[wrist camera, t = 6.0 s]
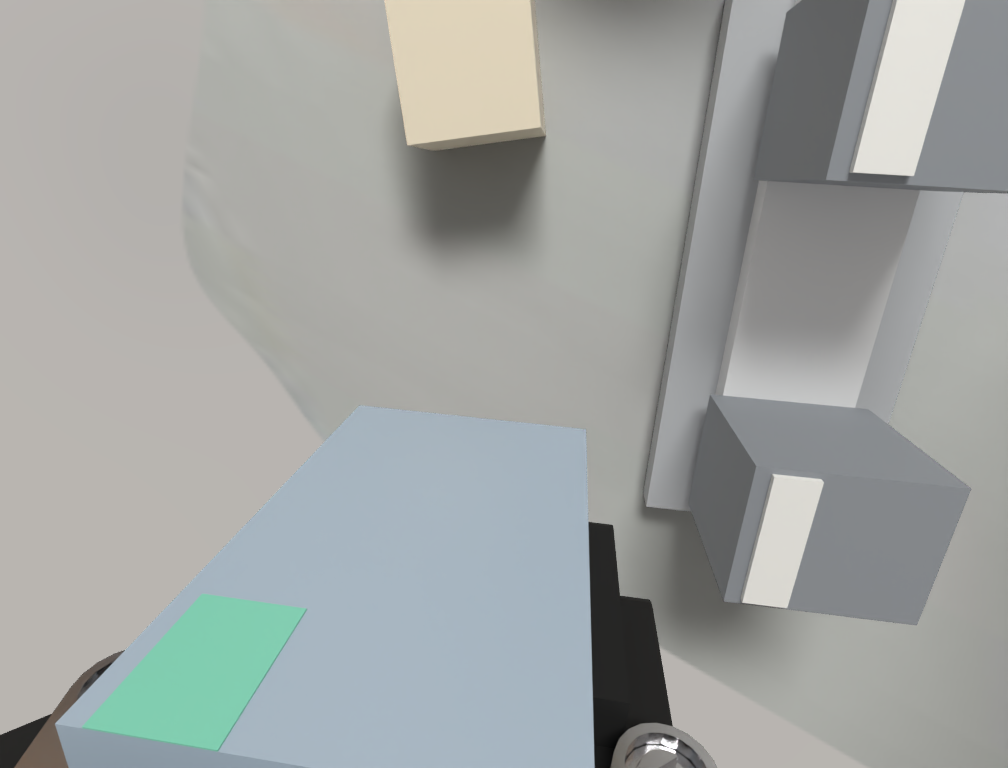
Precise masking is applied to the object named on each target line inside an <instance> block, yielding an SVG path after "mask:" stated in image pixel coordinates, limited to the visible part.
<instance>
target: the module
mask: <svg viewBox="0 0 1008 768" xmlns="http://www.w3.org/2000/svg"><path fill="white" fill-rule="evenodd" d="M55 726H56V729H57V732H58V735H59V739H60V742H61V745H62V748H63V751H64V755H65V758H66V761H67V764H68V767H69V768H595V765H594V726H593V686H592V647H591V608H590V568H589V529H588V490H587V450H586V429H578V428H569V427H559V426H550V425H541V424H531V423H522V422H512V421H503V420H493V419H484V418H474V417H465V416H455V415H446V414H437V413H427V412H418V411H408V410H399V409H389V408H380V407H370V406H361V405H359V406H358V407H357V408H356V410H355V411H354V412H353V413H352V414H351V415H350V416H349V417H348V418H347V419H346V420H345V421H344V422H343V423H342V424H341V425H340V426H339V427H338V428H337V429H336V430H335V431H334V433H333V434H332V435H331V436H330V437H329V438H328V439H327V440H326V441H325V442H324V443H323V444H322V445H321V446H320V447H319V448H318V449H317V450H316V452H314V453H313V455H312V456H311V457H310V458H309V459H308V460H307V461H306V462H305V463H304V464H303V465H302V466H301V467H300V468H299V469H298V470H297V471H296V472H295V473H294V474H293V476H291V478H290V479H289V480H288V481H287V482H286V483H285V484H284V485H283V486H282V487H281V488H280V489H279V490H278V491H277V492H276V493H275V494H274V495H273V496H272V497H271V498H270V499H269V501H268V502H267V503H266V504H265V505H264V506H263V507H262V508H261V509H260V510H259V511H258V512H257V513H256V514H255V515H254V516H253V517H252V518H251V519H250V520H249V522H247V523H246V525H245V526H244V527H243V528H242V529H241V530H240V531H239V532H238V533H237V534H236V535H235V536H234V537H233V538H232V539H231V540H230V541H229V543H227V544H226V545H225V547H224V548H223V549H222V550H221V551H220V552H219V553H218V554H217V555H216V556H215V557H214V558H213V559H212V560H211V561H210V562H209V563H208V564H207V565H206V566H205V567H204V569H202V571H201V572H200V573H199V574H198V575H197V576H196V577H195V578H194V579H193V580H192V581H191V582H190V583H189V584H188V585H187V586H186V587H185V588H184V589H183V590H182V591H181V592H180V594H179V595H178V596H177V597H176V598H175V599H174V600H173V601H172V602H171V603H170V604H169V605H168V606H167V607H166V608H165V609H164V610H163V611H162V612H161V613H160V614H159V615H158V617H157V618H156V619H155V620H154V621H153V622H152V623H151V624H150V625H149V626H148V627H147V628H146V629H145V630H144V631H143V632H142V633H141V634H140V635H139V636H138V637H137V639H136V640H135V641H134V642H133V643H132V644H131V645H130V646H129V647H128V648H127V649H126V650H125V651H124V652H123V653H122V654H121V655H120V656H119V657H118V658H117V659H116V660H115V661H114V663H113V664H112V665H111V666H110V667H109V668H108V669H107V670H106V671H105V672H104V673H103V674H102V675H101V676H100V677H99V678H98V679H97V680H96V681H95V682H94V683H93V684H92V686H91V687H90V688H89V689H88V690H87V691H86V692H85V693H84V694H83V695H82V696H81V697H80V698H79V699H78V700H77V701H76V702H75V703H74V704H73V705H72V706H71V707H70V709H69V710H68V711H67V712H66V713H65V714H64V715H63V716H62V717H61V718H60V719H59V720H58V721H57V722H56V723H55Z"/></svg>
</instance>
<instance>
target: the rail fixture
mask: <svg viewBox="0 0 1008 768" xmlns="http://www.w3.org/2000/svg"><path fill="white" fill-rule="evenodd" d="M964 192H977V193H1008V0H725V5H724V11H723V17H722V23H721V29H720V35H719V41H718V47H717V53H716V59H715V65H714V71H713V77H712V83H711V89H710V95H709V101H708V107H707V113H706V119H705V125H704V131H703V137H702V143H701V149H700V155H699V161H698V167H697V173H696V179H695V185H694V191H693V197H692V203H691V209H690V215H689V221H688V227H687V233H686V239H685V245H684V251H683V257H682V263H681V269H680V275H679V281H678V287H677V293H676V299H675V305H674V311H673V317H672V323H671V329H670V335H669V341H668V347H667V353H666V359H665V365H664V371H663V377H662V383H661V389H660V395H659V401H658V407H657V413H656V419H655V425H654V431H653V437H652V443H651V449H650V455H649V461H648V467H647V473H646V479H645V485H644V491H643V494H644V499H645V503H646V507H654V508H663V509H672V510H681V511H690V512H692V515H693V518H694V521H695V523H696V526H697V529H698V532H699V535H700V537H701V540H702V543H703V546H704V548H705V551H706V554H707V557H708V560H709V562H710V565H711V568H712V571H713V573H714V576H715V579H716V582H717V585H718V587H719V590H720V593H721V596H722V598H723V601H725V602H733V603H741V604H749V605H757V606H765V607H773V608H781V609H789V610H797V611H805V612H813V613H821V614H829V615H837V616H845V617H853V618H861V619H869V620H877V621H885V622H893V623H901V624H909V625H917V624H918V621H919V619H920V616H921V614H922V611H923V609H924V606H925V604H926V601H927V599H928V596H929V594H930V591H931V589H932V586H933V584H934V581H935V579H936V576H937V574H938V571H939V568H940V566H941V563H942V561H943V558H944V556H945V553H946V551H947V548H948V546H949V543H950V541H951V538H952V536H953V533H954V531H955V528H956V526H957V523H958V521H959V518H960V516H961V513H962V511H963V508H964V506H965V503H966V501H967V498H968V496H969V493H970V491H971V488H970V487H969V486H967V485H966V484H965V483H963V482H962V481H961V480H960V479H958V478H957V477H956V476H954V475H953V474H952V473H951V472H949V471H948V470H947V469H945V468H944V467H943V466H941V465H940V464H939V463H938V462H936V461H935V460H934V459H932V458H931V457H930V456H929V455H927V454H926V453H925V452H923V451H922V450H921V449H919V448H918V447H917V446H916V445H914V444H913V443H912V442H910V441H909V440H908V439H906V438H905V437H904V436H903V435H901V434H900V433H899V432H897V431H896V430H895V429H894V428H892V427H891V426H890V425H889V421H890V418H891V415H892V412H893V409H894V406H895V403H896V400H897V397H898V394H899V391H900V388H901V385H902V381H903V378H904V375H905V372H906V369H907V366H908V363H909V360H910V357H911V354H912V351H913V348H914V345H915V341H916V338H917V335H918V332H919V329H920V326H921V323H922V320H923V317H924V314H925V311H926V308H927V305H928V302H929V298H930V295H931V292H932V289H933V286H934V283H935V280H936V277H937V274H938V271H939V268H940V265H941V262H942V258H943V255H944V252H945V249H946V246H947V243H948V240H949V237H950V234H951V231H952V228H953V225H954V222H955V218H956V215H957V212H958V209H959V206H960V203H961V200H962V197H963V194H964Z"/></svg>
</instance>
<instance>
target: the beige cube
mask: <svg viewBox="0 0 1008 768" xmlns="http://www.w3.org/2000/svg"><path fill="white" fill-rule="evenodd" d="M384 1H385V8H386V14H387V20H388V27H389V33H390V39H391V46H392V52H393V58H394V65H395V71H396V77H397V84H398V90H399V96H400V103H401V109H402V115H403V122H404V128H405V134H406V141H407V145H408V146H413V147H418V148H422V149H427V150H432V151H437V150H444V149H452V148H459V147H467V146H474V145H482V144H489V143H497V142H504V141H512V140H519V139H527V138H535V137H542V136H546V130H545V118H544V106H543V94H542V81H541V69H540V57H539V45H538V33H537V21H536V9H535V0H384Z"/></svg>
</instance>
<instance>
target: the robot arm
mask: <svg viewBox="0 0 1008 768" xmlns="http://www.w3.org/2000/svg"><path fill="white" fill-rule="evenodd" d="M588 529H589V568H590V608H591V647H592V686H593V726H594V765H595V768H717V766H716V764H715V762H714V760H713V759H712V757H711V756H710V755H709V754H708V752H707V751H706V750H705V749H704V747H703V746H702V745H701V744H700V743H698V742H697V741H696V740H695V739H693V738H692V737H691V736H690V735H688V734H687V733H685V732H683V731H681V730H679V729H676V728H675V727H673V726H672V720H671V714H670V708H669V702H668V696H667V690H666V684H665V678H664V673H663V667H662V661H661V655H660V649H659V643H658V637H657V631H656V625H655V619H654V613H653V608H652V604H651V602H650V600H648V599H640V598H633V597H625V596H620V592H619V582H618V572H617V561H616V551H615V540H614V530H613V525H609V524H600V523H592V522H588ZM124 651H125V650H124ZM124 651H121V652H118V653H115V654H113V655H111V656H109V657H107V658H105V659H103V660H101V661H99V662H98V663H96V664H95V665H94V666H93V667H91V668H90V669H88V670H87V671H86V672H84V673H83V674H82V675H81V676H80V677H79V678H78V680H77V681H76V682H75V683H74V684H73V685H72V686H71V688H70V689H69V691H68V692H67V694H66V695H65V696H64V698H63V699H62V701H61V702H60V703H59V705H58V706H57V708H56V709H55V710H54V712H53V713H52V714H50V715H48V716H45V717H43V718H41V719H38V720H36V721H33V722H31V723H28V724H26V725H24V726H21V727H19V728H17V729H14V730H11V731H9V732H7V733H4V734H2V735H0V768H69V767H68V764H67V761H66V758H65V755H64V751H63V748H62V745H61V742H60V739H59V735H58V732H57V729H56V726H55V723H56V722H57V721H58V720H59V719H60V718H61V717H62V716H63V715H64V714H65V713H66V712H67V711H68V710H69V709H70V707H71V706H72V705H73V704H74V703H75V702H76V701H77V700H78V699H79V698H80V697H81V696H82V695H83V694H84V693H85V692H86V691H87V690H88V689H89V688H90V687H91V686H92V684H93V683H94V682H95V681H96V680H97V679H98V678H99V677H100V676H101V675H102V674H103V673H104V672H105V671H106V670H107V669H108V668H109V667H110V666H111V665H112V664H113V663H114V661H115V660H116V659H117V658H118V657H119V656H120V655H121V654H122V653H123V652H124Z"/></svg>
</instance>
